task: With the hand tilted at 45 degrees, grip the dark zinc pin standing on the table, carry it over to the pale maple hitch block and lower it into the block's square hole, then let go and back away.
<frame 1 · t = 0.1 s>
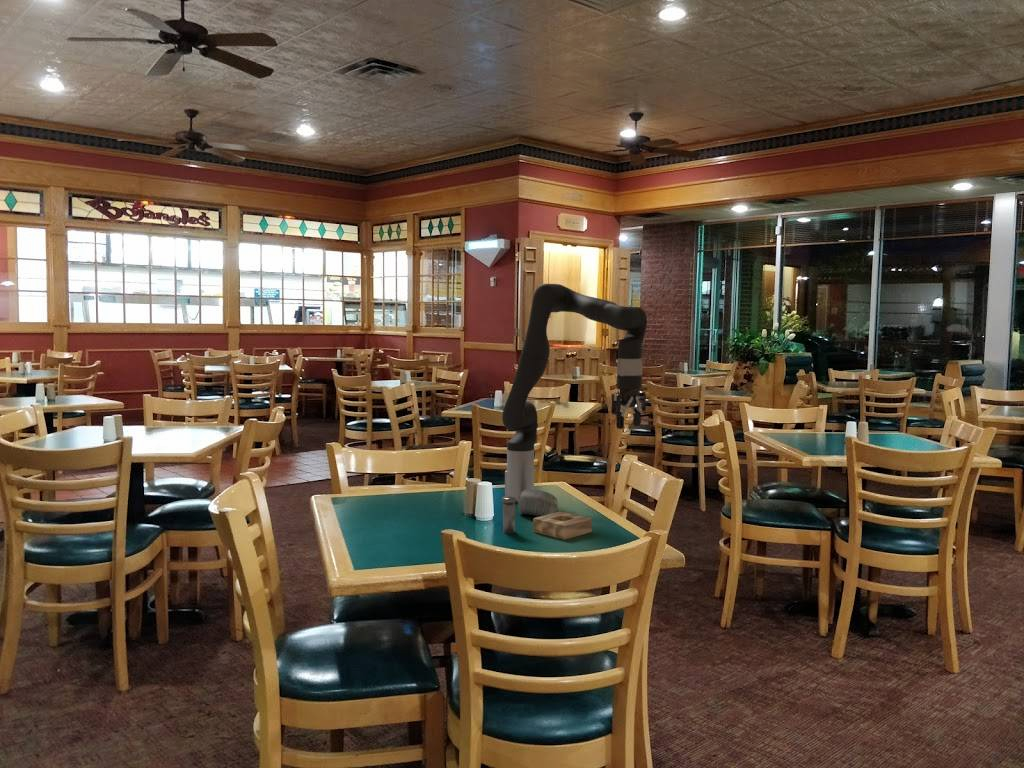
hand: (628, 427, 247), 29 cm above the table, fingers open, 8 cm apart
grey rounded rock: (537, 516, 258), on the table
pin: (508, 531, 239), on the table
hitch block: (562, 531, 239), on the table
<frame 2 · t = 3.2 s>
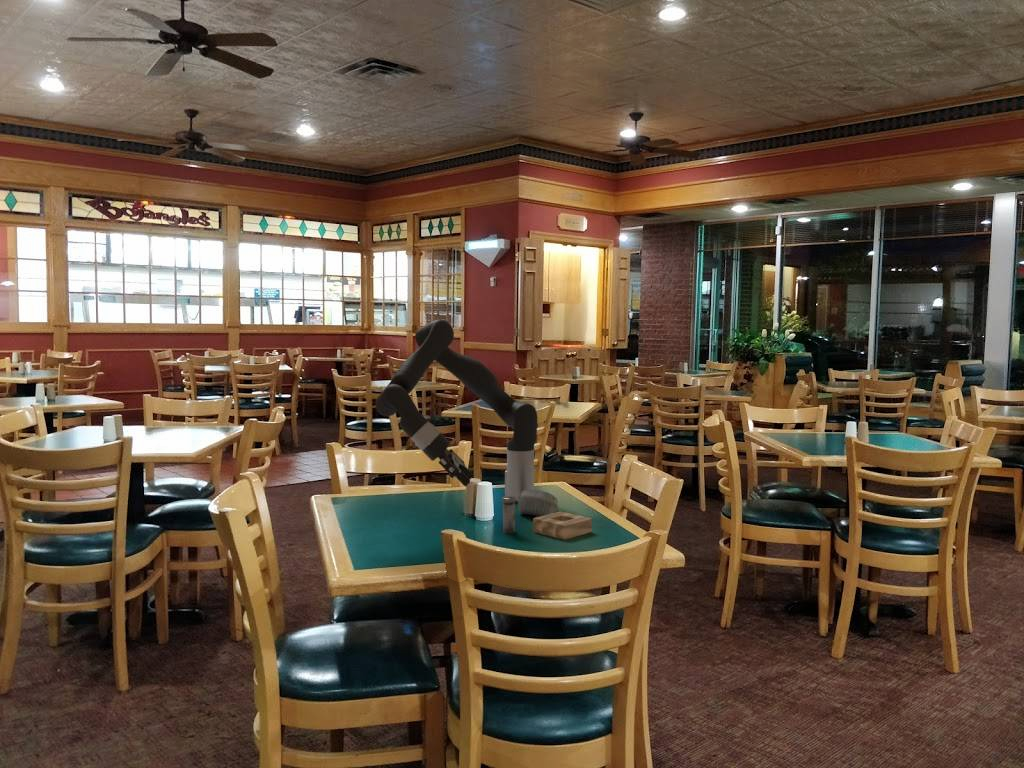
hand: (469, 480, 238), 15 cm above the table, fingers open, 8 cm apart
nothing on the table moved.
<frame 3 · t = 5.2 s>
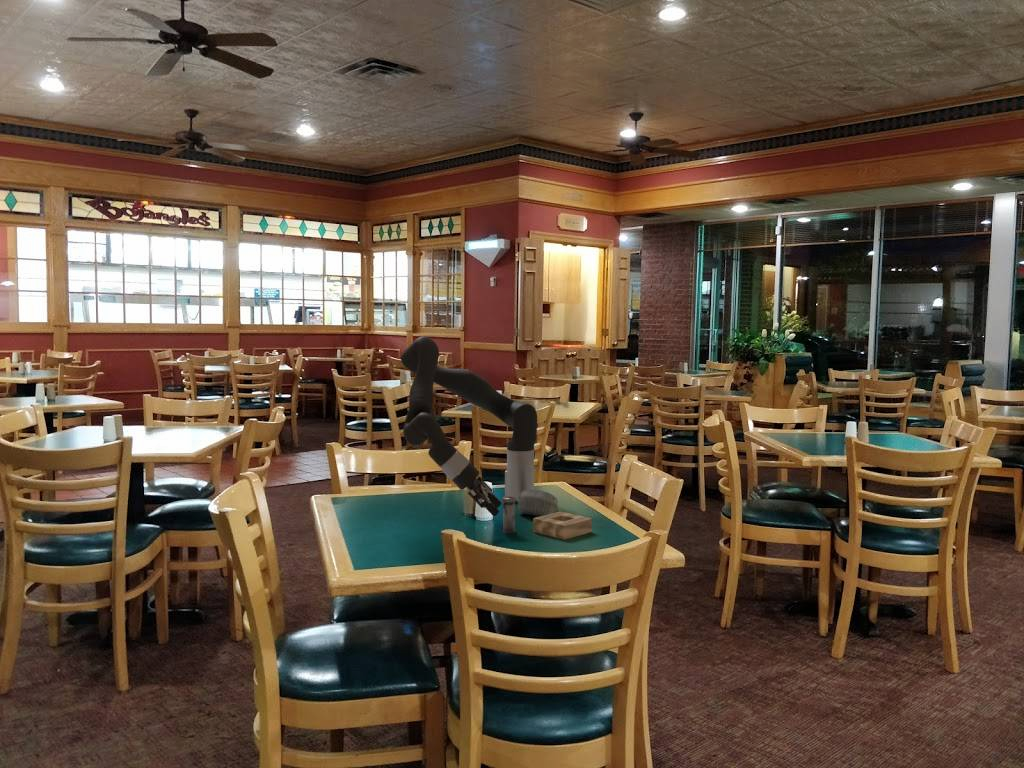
hand: (498, 510, 239), 6 cm above the table, fingers open, 8 cm apart
nothing on the table moved.
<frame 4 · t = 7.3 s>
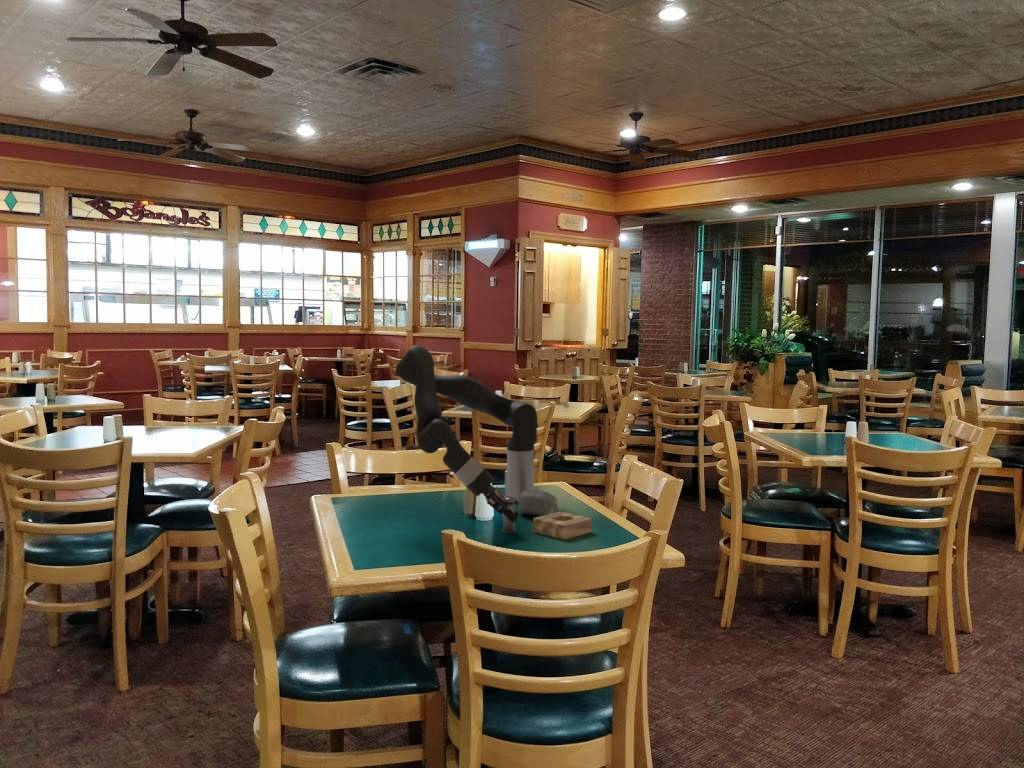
hand: (515, 518, 238), 4 cm above the table, fingers closed on pin, 3 cm apart
pin: (508, 531, 239), on the table, touching gripper
everything else where it was.
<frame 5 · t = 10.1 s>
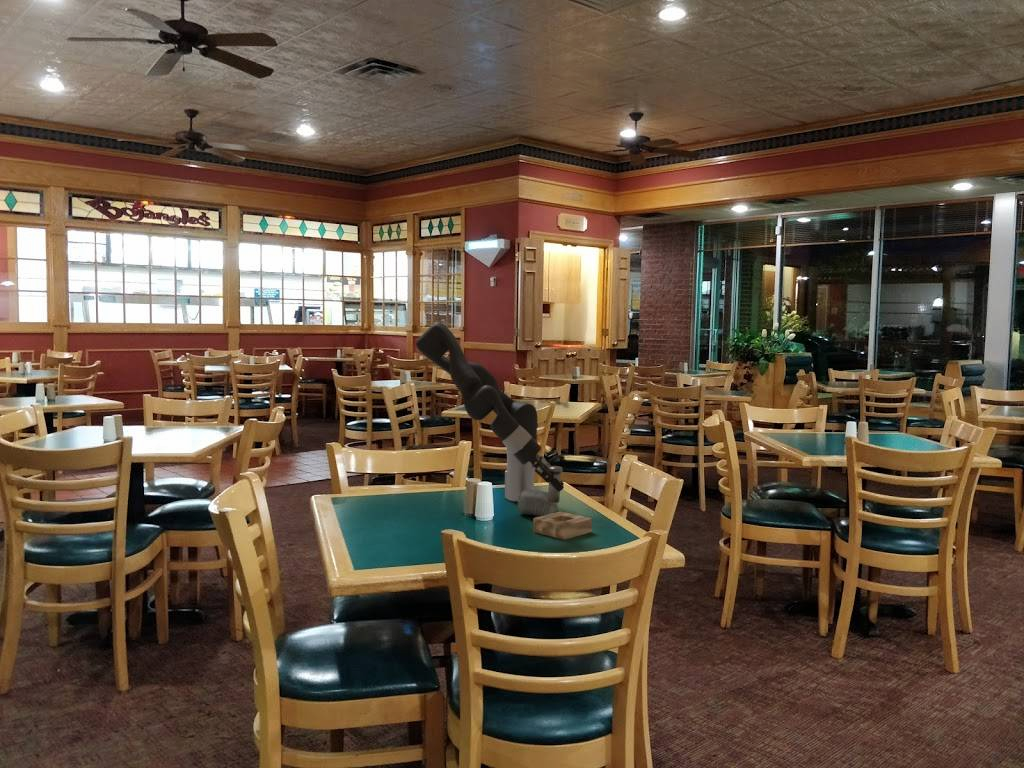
hand: (561, 487, 238), 13 cm above the table, fingers closed on pin, 3 cm apart
pin: (553, 501, 239), point 9 cm above the table, touching gripper
everything else where it was.
when the fingers open (6 cm above the table, at t = 13.3 s): pin stays where it is, resting in hitch block.
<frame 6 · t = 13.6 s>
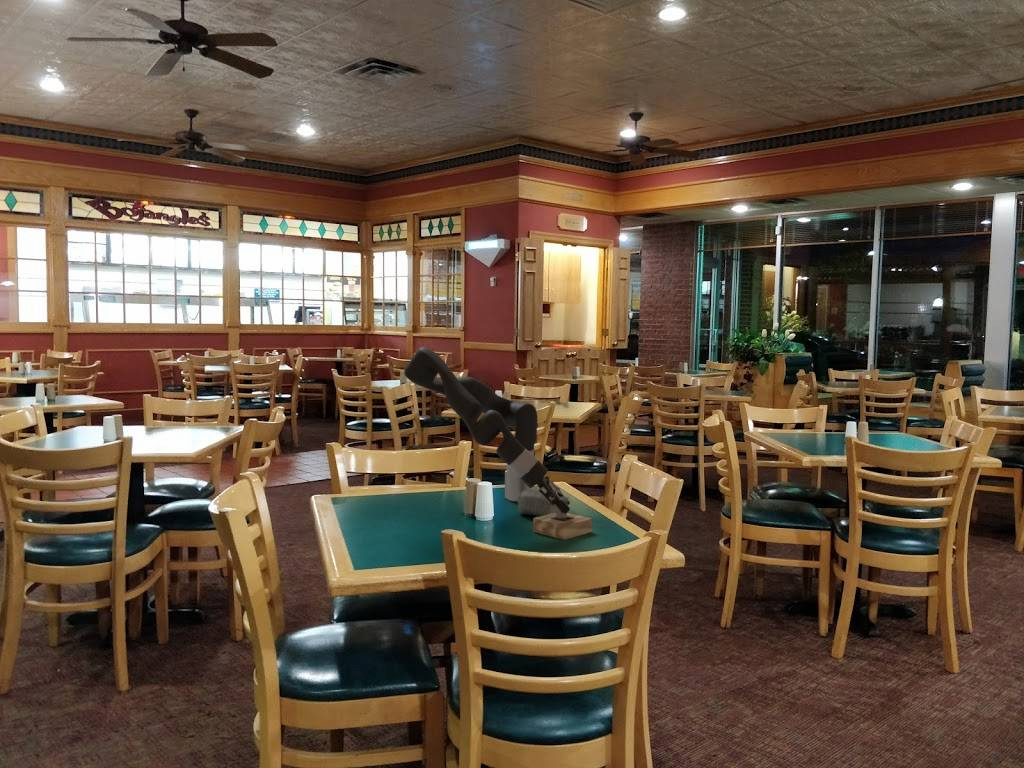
hand: (567, 508, 238), 7 cm above the table, fingers open, 7 cm apart
pin: (561, 531, 239), resting in hitch block
everything else where it was.
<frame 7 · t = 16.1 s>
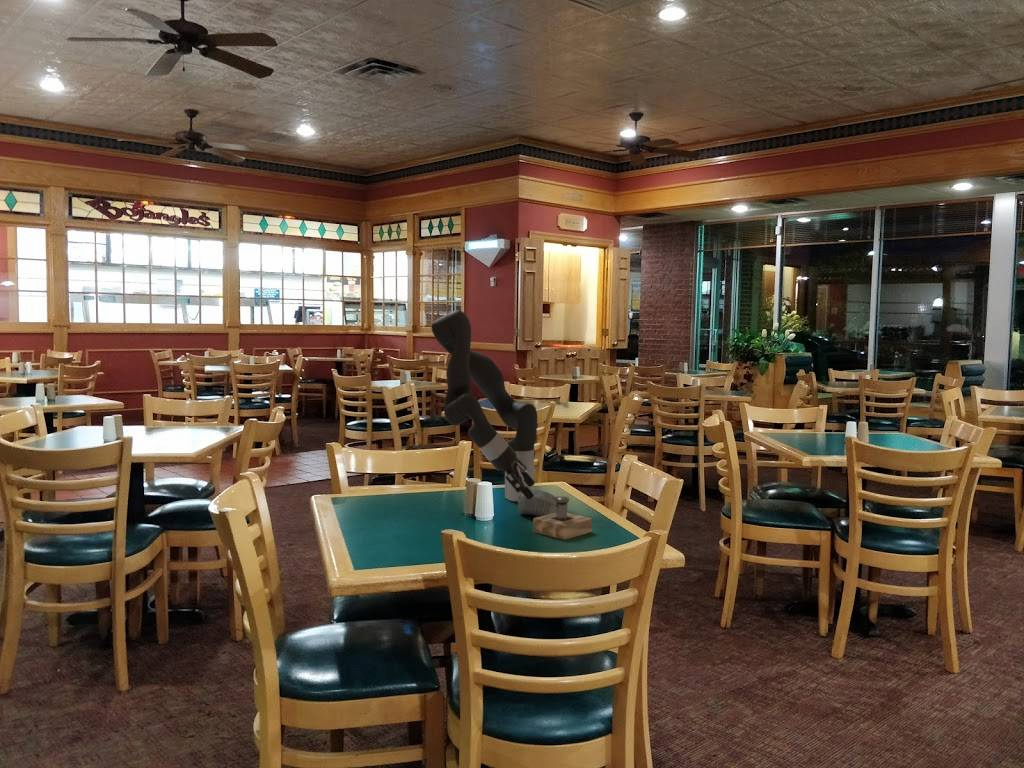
hand: (531, 491, 244), 11 cm above the table, fingers open, 8 cm apart
nothing on the table moved.
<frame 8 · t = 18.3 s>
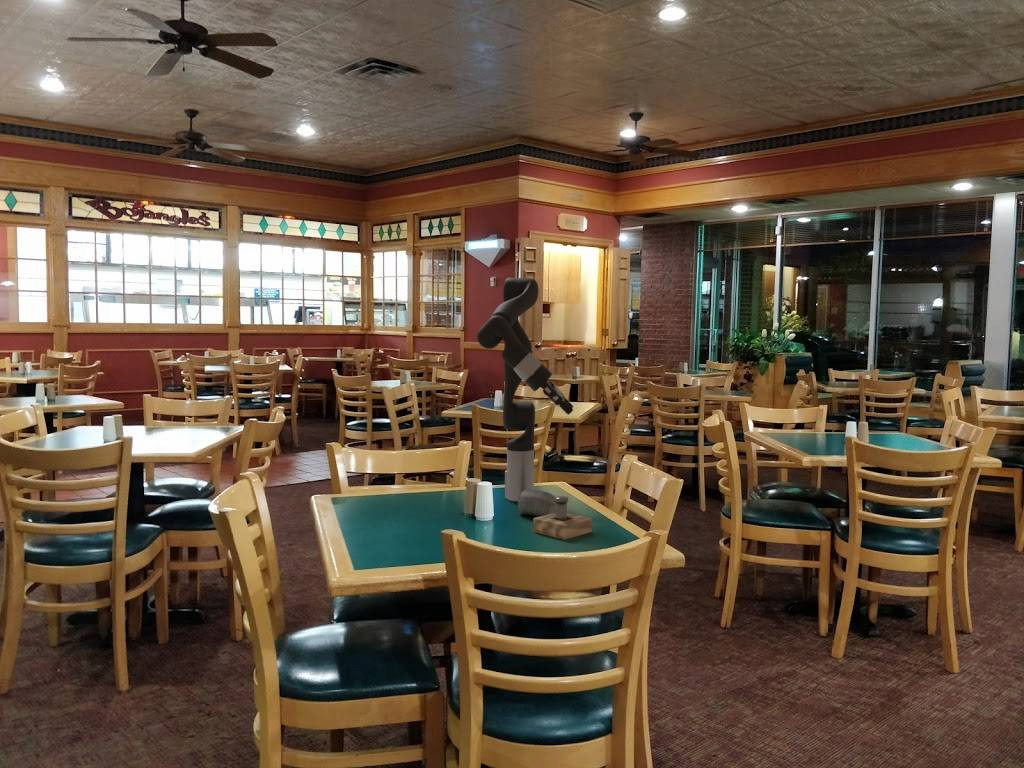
hand: (570, 410, 243), 35 cm above the table, fingers open, 8 cm apart
nothing on the table moved.
at the end: pin 0.4 cm off-centre on the hitch block, point 0.0 cm above the hitch block's base; pin tilted 1°; the gripper is holding nothing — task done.
